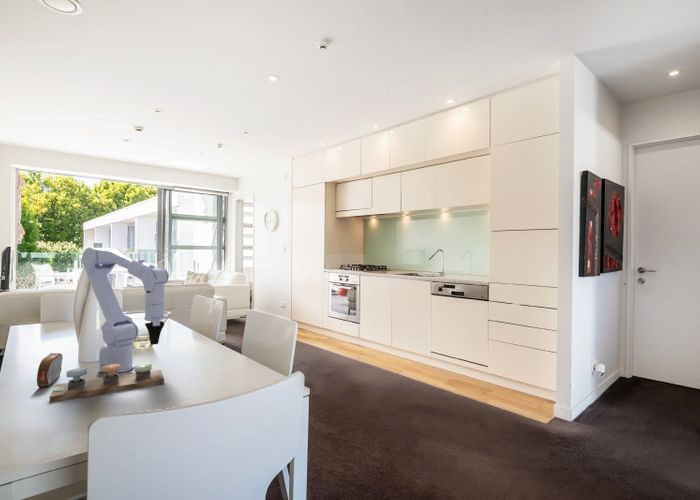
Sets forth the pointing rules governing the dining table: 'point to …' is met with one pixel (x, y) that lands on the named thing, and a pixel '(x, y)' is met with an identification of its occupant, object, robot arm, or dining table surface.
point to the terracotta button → (111, 369)
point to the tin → (49, 369)
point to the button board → (106, 385)
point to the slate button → (76, 373)
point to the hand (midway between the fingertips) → (154, 344)
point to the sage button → (143, 368)
